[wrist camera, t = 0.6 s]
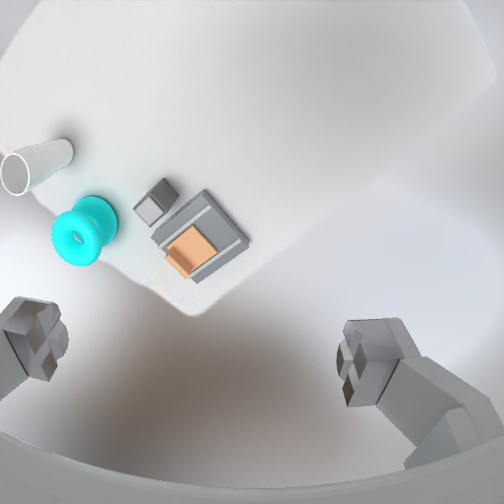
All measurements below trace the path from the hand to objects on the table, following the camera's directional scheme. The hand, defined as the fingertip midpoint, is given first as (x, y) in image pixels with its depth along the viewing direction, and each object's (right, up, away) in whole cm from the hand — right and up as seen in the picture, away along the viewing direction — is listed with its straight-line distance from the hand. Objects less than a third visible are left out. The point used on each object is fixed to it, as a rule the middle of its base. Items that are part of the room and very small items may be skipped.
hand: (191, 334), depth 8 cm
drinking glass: (-33, +20, +39) cm, 55 cm away
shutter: (-9, +3, +45) cm, 46 cm away
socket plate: (-7, +5, +47) cm, 48 cm away
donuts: (-28, +8, +46) cm, 54 cm away
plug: (-14, +12, +43) cm, 47 cm away
